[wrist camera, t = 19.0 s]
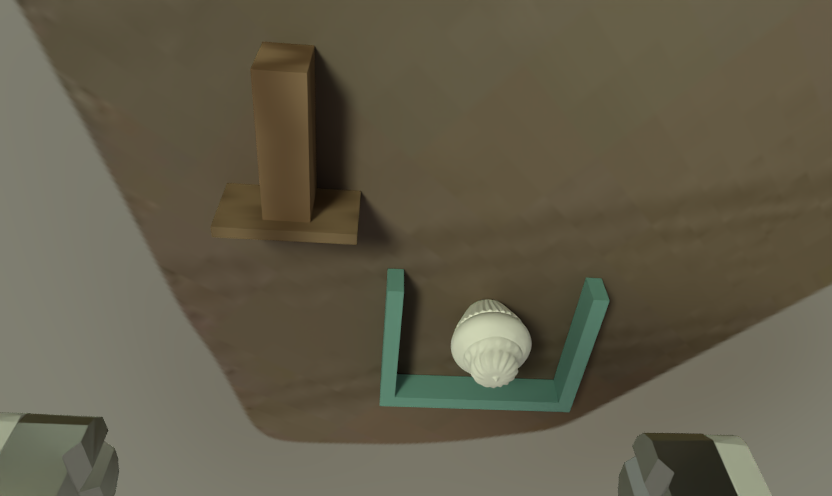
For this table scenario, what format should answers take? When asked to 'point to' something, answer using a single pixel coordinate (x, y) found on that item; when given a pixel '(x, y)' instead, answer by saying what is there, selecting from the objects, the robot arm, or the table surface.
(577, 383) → the frame
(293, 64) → the wooden post on base
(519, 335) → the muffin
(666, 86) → the table surface
